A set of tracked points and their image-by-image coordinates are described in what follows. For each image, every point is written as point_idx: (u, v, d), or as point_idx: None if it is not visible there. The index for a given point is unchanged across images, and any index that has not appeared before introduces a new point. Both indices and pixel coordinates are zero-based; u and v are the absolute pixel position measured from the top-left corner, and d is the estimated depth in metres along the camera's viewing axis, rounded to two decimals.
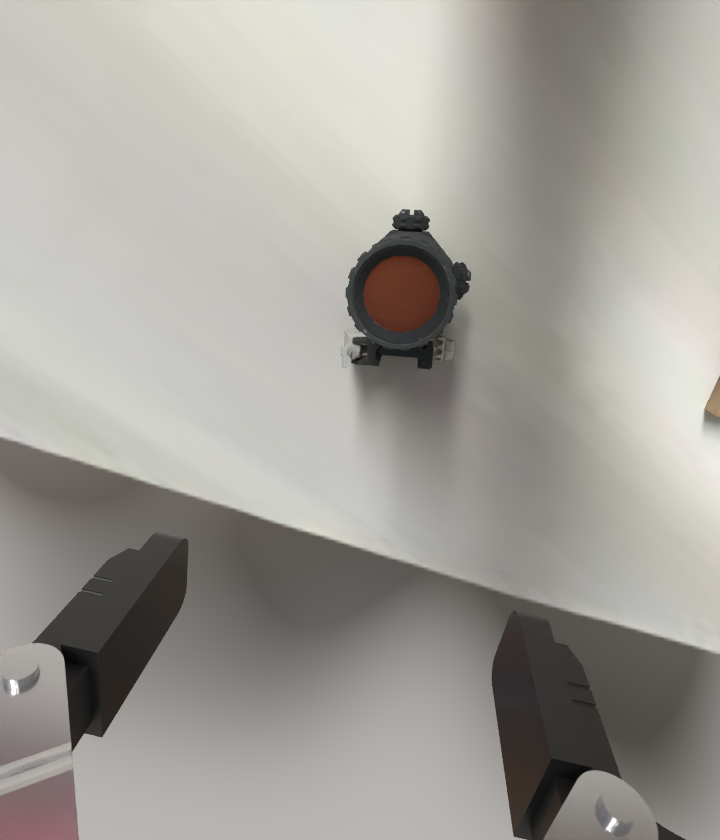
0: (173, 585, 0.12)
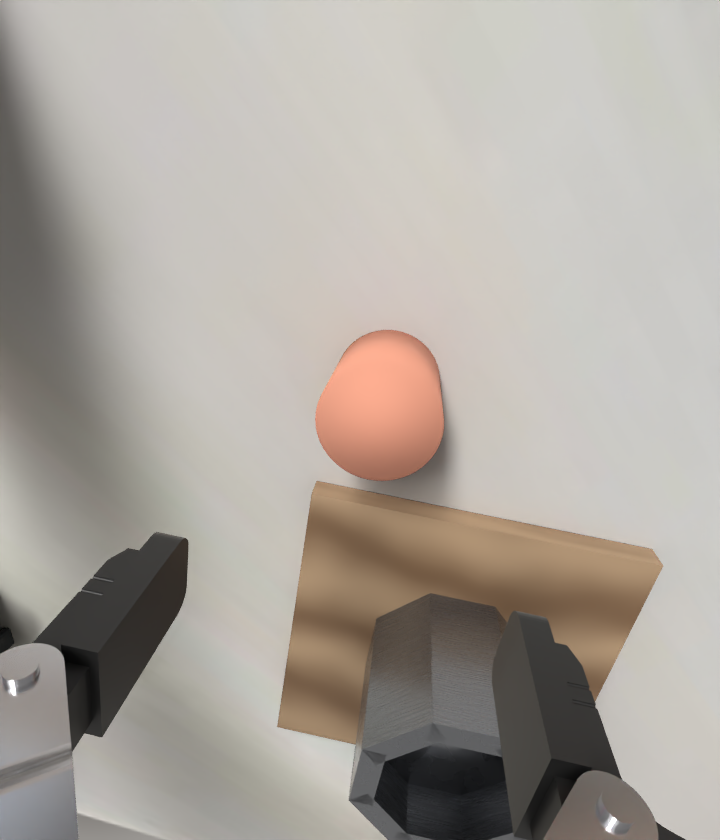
0: (173, 585, 0.12)
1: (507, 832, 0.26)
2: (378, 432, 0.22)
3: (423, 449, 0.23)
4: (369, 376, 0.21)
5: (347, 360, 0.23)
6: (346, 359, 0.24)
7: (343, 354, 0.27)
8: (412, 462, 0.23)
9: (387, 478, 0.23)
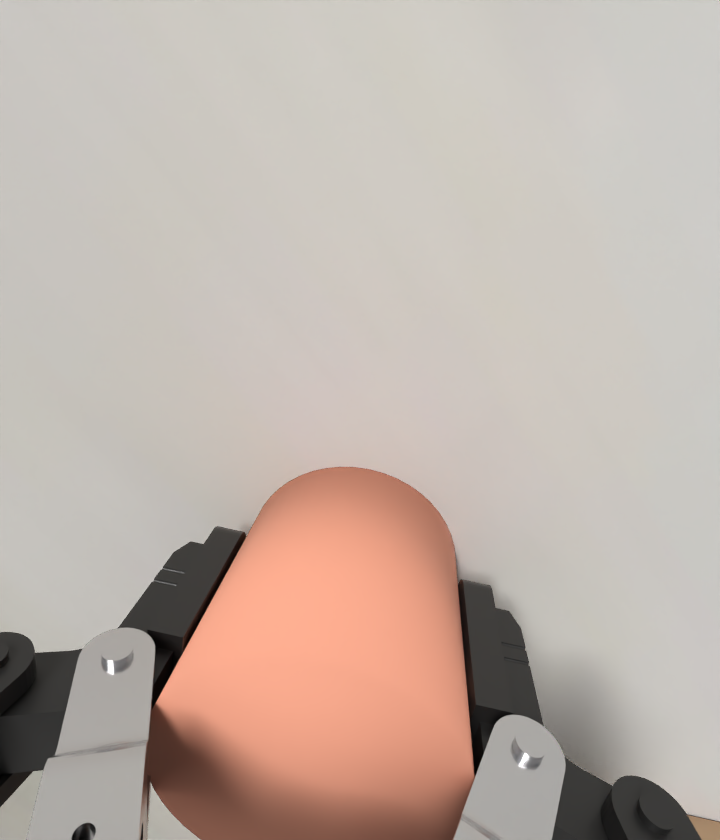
0: None
1: None
2: (304, 798, 0.09)
3: None
4: (271, 687, 0.08)
5: (235, 591, 0.09)
6: (238, 577, 0.10)
7: (259, 514, 0.13)
8: None
9: None
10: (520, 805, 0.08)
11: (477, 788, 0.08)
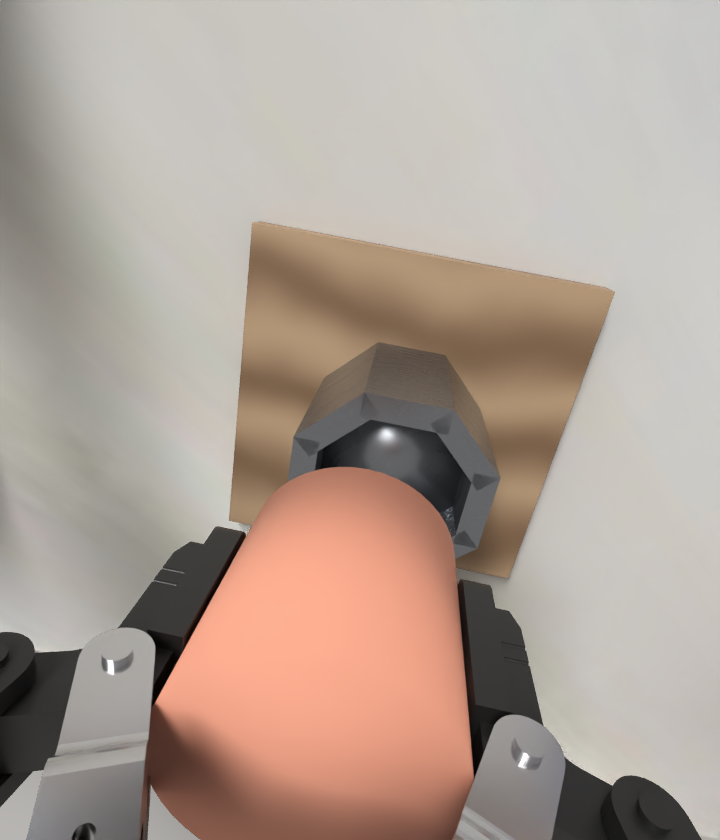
0: None
1: None
2: (304, 798, 0.09)
3: None
4: (270, 686, 0.08)
5: (234, 591, 0.09)
6: (238, 577, 0.10)
7: (258, 514, 0.13)
8: None
9: None
10: (520, 805, 0.08)
11: (477, 788, 0.08)
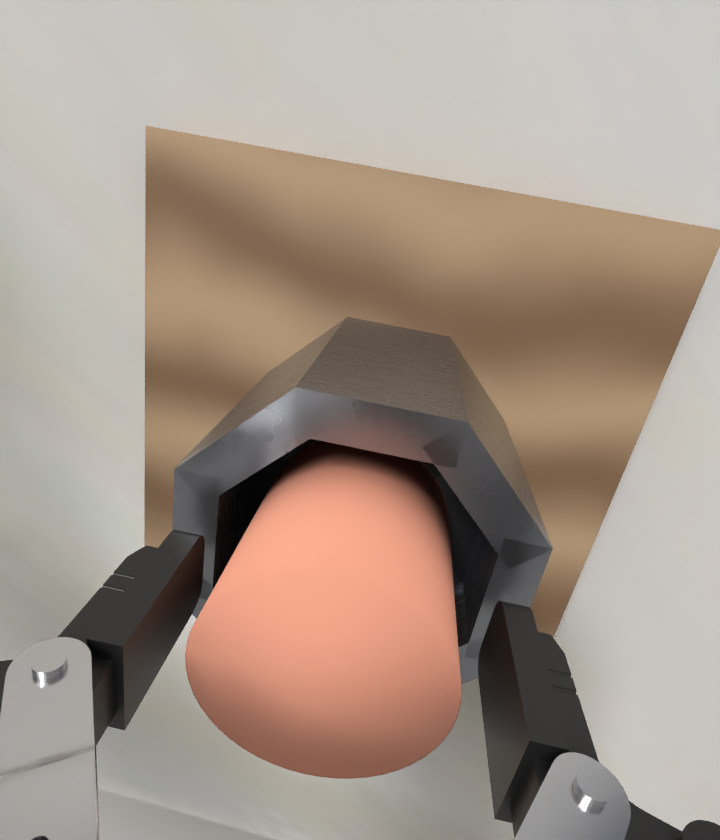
0: (190, 581, 0.12)
1: None
2: (320, 699, 0.10)
3: (416, 734, 0.10)
4: (293, 599, 0.10)
5: (260, 531, 0.11)
6: (262, 522, 0.12)
7: (275, 478, 0.15)
8: (393, 754, 0.11)
9: (342, 775, 0.11)
10: None
11: (530, 821, 0.07)
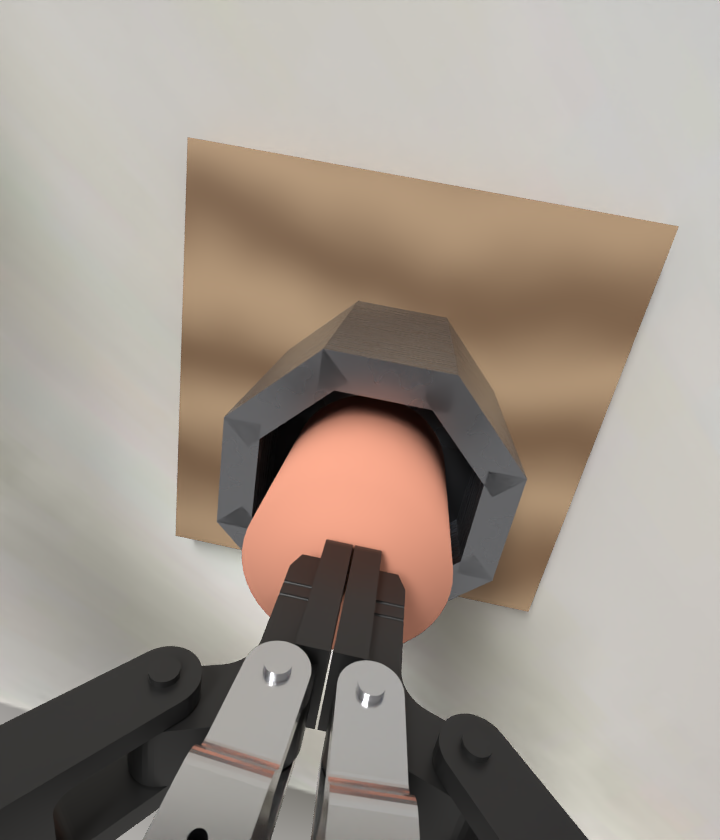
0: None
1: None
2: (345, 583, 0.14)
3: (419, 610, 0.14)
4: (327, 500, 0.13)
5: (297, 459, 0.14)
6: (297, 454, 0.15)
7: None
8: None
9: None
10: (376, 744, 0.08)
11: (336, 748, 0.08)
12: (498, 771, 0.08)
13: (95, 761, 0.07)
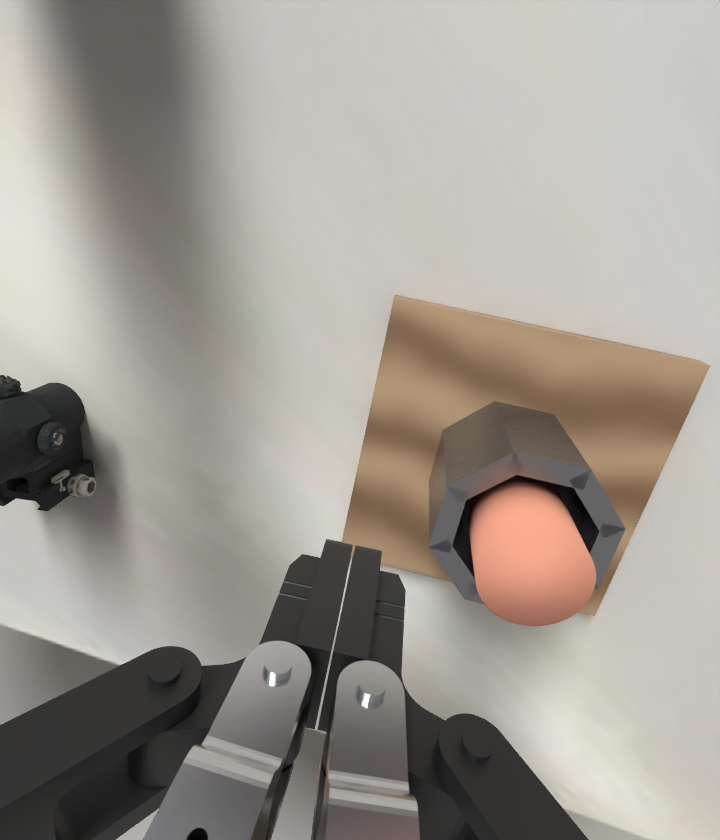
0: None
1: None
2: (533, 585, 0.25)
3: (573, 602, 0.25)
4: (531, 540, 0.24)
5: (501, 515, 0.26)
6: (498, 511, 0.26)
7: None
8: (561, 612, 0.25)
9: (535, 624, 0.26)
10: (376, 744, 0.08)
11: (336, 748, 0.08)
12: (498, 771, 0.08)
13: (95, 761, 0.07)
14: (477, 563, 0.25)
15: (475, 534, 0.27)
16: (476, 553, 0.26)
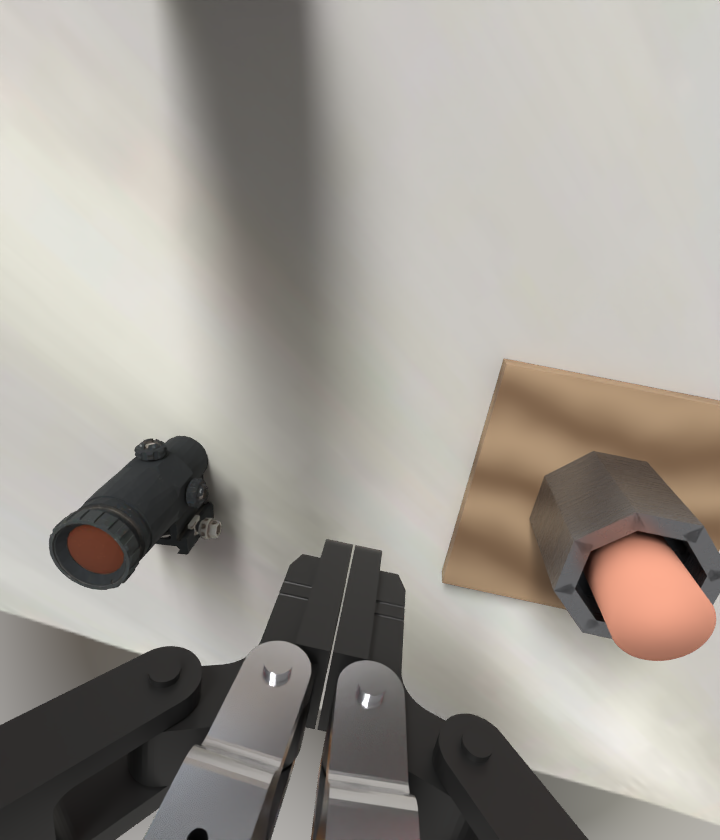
0: None
1: None
2: (660, 628, 0.29)
3: (694, 641, 0.29)
4: (662, 592, 0.28)
5: (628, 568, 0.30)
6: (623, 563, 0.30)
7: None
8: (682, 649, 0.30)
9: (659, 659, 0.30)
10: (376, 744, 0.08)
11: (336, 748, 0.08)
12: (498, 771, 0.08)
13: (95, 761, 0.07)
14: (612, 611, 0.29)
15: (601, 582, 0.31)
16: (608, 601, 0.30)
